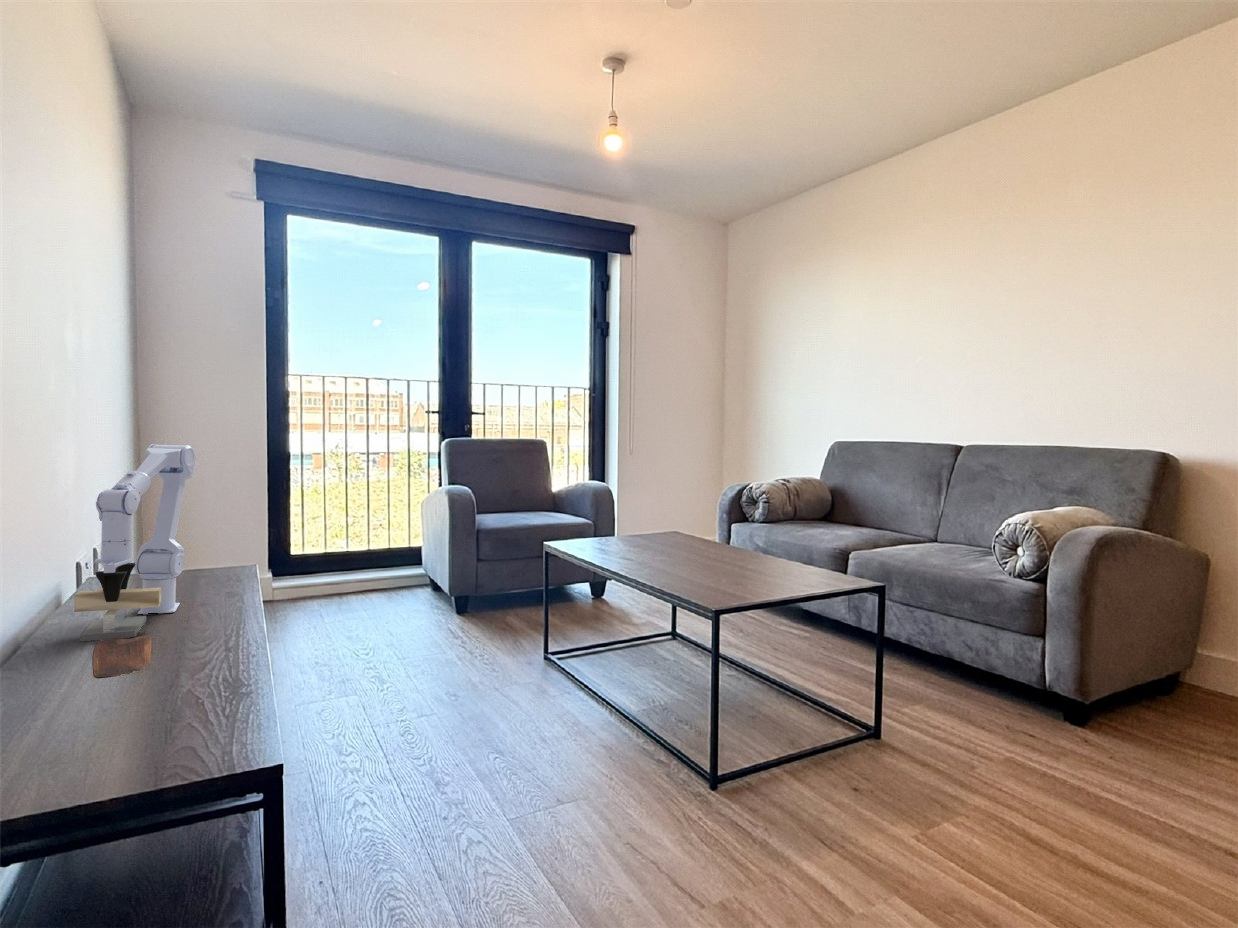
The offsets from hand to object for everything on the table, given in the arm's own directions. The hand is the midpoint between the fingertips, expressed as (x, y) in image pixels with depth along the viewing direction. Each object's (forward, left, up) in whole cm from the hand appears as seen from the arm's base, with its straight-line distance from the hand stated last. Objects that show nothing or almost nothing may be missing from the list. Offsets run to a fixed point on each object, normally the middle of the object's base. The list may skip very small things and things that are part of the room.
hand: (115, 597), depth 156 cm
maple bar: (0, +1, -2) cm, 2 cm away
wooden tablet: (+21, +5, -9) cm, 23 cm away
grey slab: (0, 0, -8) cm, 8 cm away
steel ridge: (0, 0, -6) cm, 6 cm away
